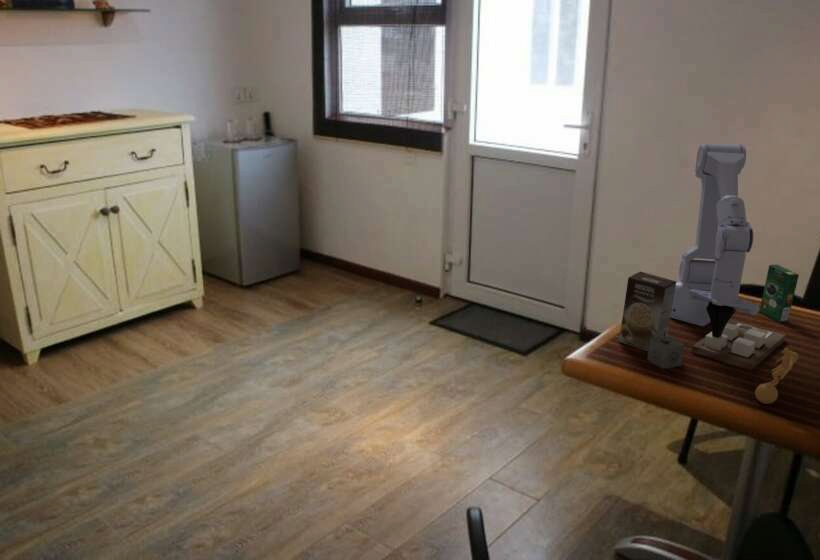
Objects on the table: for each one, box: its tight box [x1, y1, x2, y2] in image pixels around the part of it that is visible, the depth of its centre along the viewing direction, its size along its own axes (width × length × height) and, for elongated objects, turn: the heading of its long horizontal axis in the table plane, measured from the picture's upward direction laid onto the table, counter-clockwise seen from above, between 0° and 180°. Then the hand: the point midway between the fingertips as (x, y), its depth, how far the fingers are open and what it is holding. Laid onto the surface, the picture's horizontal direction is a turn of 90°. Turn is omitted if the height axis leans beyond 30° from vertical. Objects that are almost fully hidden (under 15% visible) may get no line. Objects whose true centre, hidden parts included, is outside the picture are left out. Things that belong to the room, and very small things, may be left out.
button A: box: [722, 323, 739, 342], centre depth 169 cm, size 4×4×3 cm
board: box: [691, 319, 787, 371], centre depth 168 cm, size 13×23×2 cm, turn 137°
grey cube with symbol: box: [646, 335, 685, 370], centre depth 158 cm, size 5×5×5 cm
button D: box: [731, 337, 756, 358], centre depth 160 cm, size 4×4×3 cm
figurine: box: [754, 347, 799, 405], centre depth 140 cm, size 8×6×12 cm
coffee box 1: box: [618, 271, 677, 353], centre depth 165 cm, size 9×6×16 cm
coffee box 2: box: [759, 264, 799, 323], centre depth 185 cm, size 8×3×13 cm, turn 13°
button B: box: [743, 329, 766, 349], centre depth 165 cm, size 4×4×3 cm
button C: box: [704, 331, 728, 351], centre depth 164 cm, size 4×4×3 cm
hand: (716, 336), depth 163 cm, fingers closed, pressing on button C
